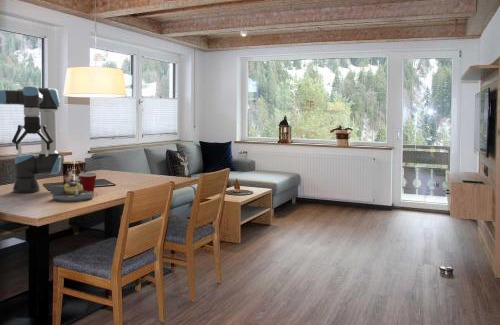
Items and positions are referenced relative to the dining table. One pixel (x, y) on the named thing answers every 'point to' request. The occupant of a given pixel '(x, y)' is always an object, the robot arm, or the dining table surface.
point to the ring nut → (67, 188)
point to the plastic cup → (88, 180)
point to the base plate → (73, 196)
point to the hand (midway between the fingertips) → (33, 156)
